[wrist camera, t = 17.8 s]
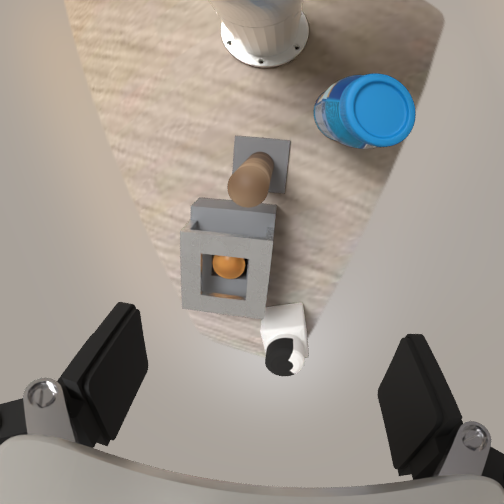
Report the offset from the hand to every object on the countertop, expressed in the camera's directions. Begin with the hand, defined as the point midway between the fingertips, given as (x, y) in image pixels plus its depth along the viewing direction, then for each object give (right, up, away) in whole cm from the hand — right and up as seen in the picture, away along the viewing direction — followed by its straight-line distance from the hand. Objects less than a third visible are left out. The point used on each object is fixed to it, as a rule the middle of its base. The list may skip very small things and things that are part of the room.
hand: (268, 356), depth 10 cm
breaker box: (-3, +4, +41) cm, 41 cm away
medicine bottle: (+6, -9, +46) cm, 47 cm away
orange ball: (-3, +4, +40) cm, 41 cm away
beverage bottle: (+12, +24, +31) cm, 41 cm away
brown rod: (+1, +16, +34) cm, 38 cm away
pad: (+1, +17, +35) cm, 38 cm away
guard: (-4, +2, +36) cm, 36 cm away
